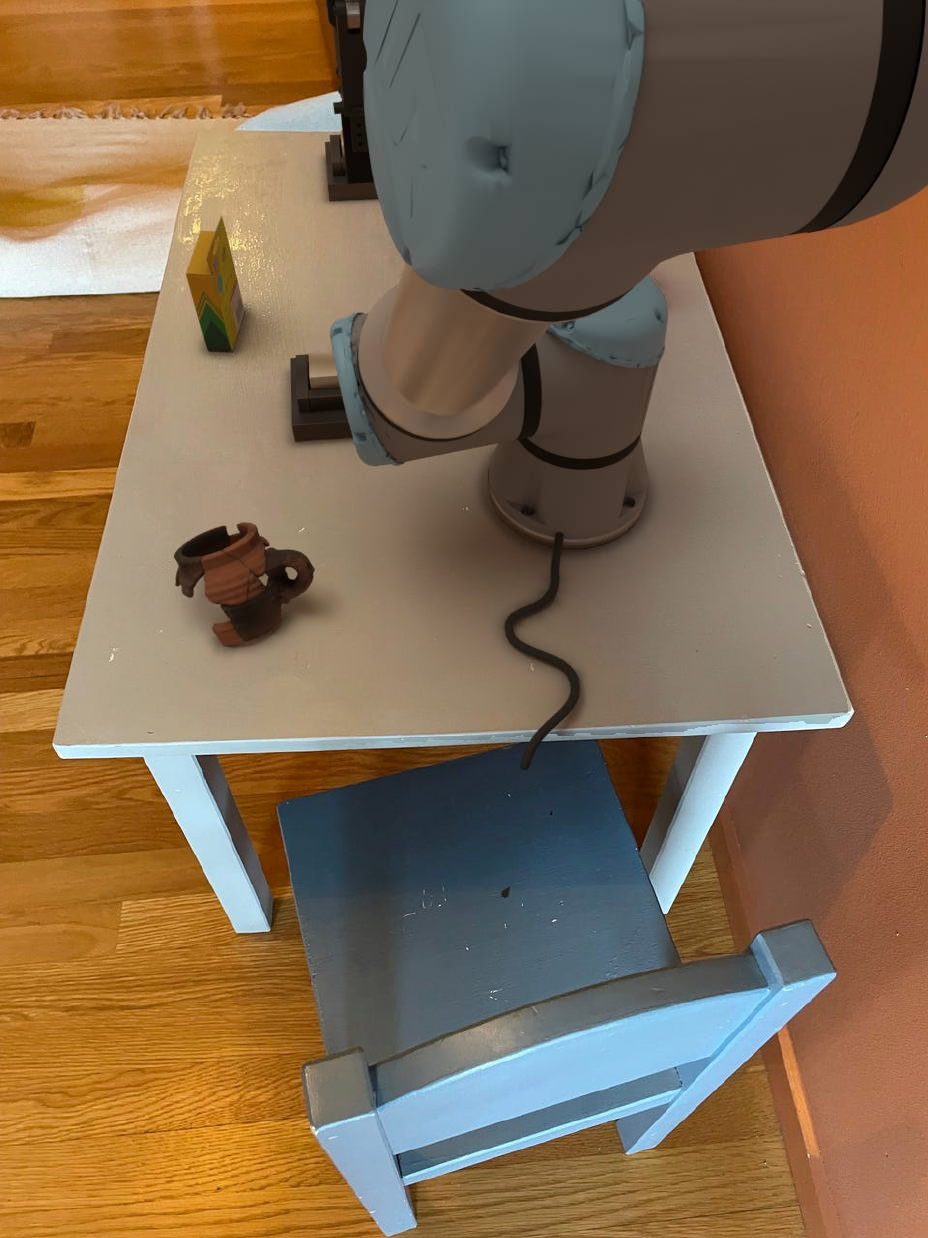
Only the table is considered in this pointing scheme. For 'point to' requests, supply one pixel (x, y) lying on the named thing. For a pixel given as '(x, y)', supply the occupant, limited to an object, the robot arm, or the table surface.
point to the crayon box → (215, 289)
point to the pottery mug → (242, 579)
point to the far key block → (343, 175)
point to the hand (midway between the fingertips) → (361, 177)
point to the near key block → (315, 407)
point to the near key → (322, 371)
